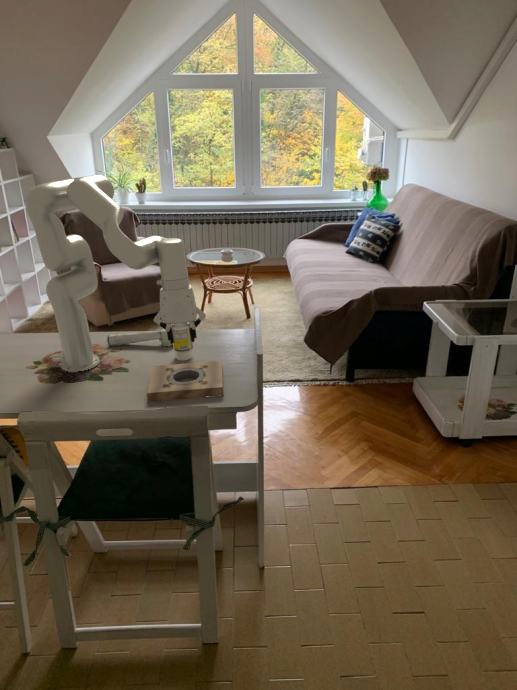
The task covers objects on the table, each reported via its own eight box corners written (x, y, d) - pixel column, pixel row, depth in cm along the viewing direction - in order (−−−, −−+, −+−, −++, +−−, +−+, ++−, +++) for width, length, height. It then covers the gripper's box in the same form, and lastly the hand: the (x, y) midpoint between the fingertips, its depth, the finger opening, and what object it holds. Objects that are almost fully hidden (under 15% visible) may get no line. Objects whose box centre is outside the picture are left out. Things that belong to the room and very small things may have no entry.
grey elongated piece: (110, 332, 202) (175, 323, 198) (115, 349, 204) (179, 339, 200) (105, 338, 197) (171, 328, 193) (110, 355, 200) (176, 345, 196)
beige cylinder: (195, 352, 191) (193, 333, 188) (191, 361, 184) (189, 342, 182) (176, 352, 191) (174, 334, 189) (171, 361, 185) (169, 342, 182)
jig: (148, 402, 160) (146, 393, 159) (154, 374, 177) (153, 366, 175) (223, 396, 161) (222, 387, 160) (222, 369, 178) (221, 360, 176)
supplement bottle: (184, 344, 168) (180, 313, 163) (196, 348, 164) (193, 316, 160) (170, 351, 164) (166, 319, 160) (183, 355, 160) (179, 322, 156)
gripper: (143, 289, 152) (152, 349, 159) (205, 284, 153) (211, 344, 160) (146, 281, 159) (155, 339, 166) (205, 276, 159) (211, 334, 167)
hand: (182, 340), depth 163 cm, fingers closed on supplement bottle, 5 cm apart
